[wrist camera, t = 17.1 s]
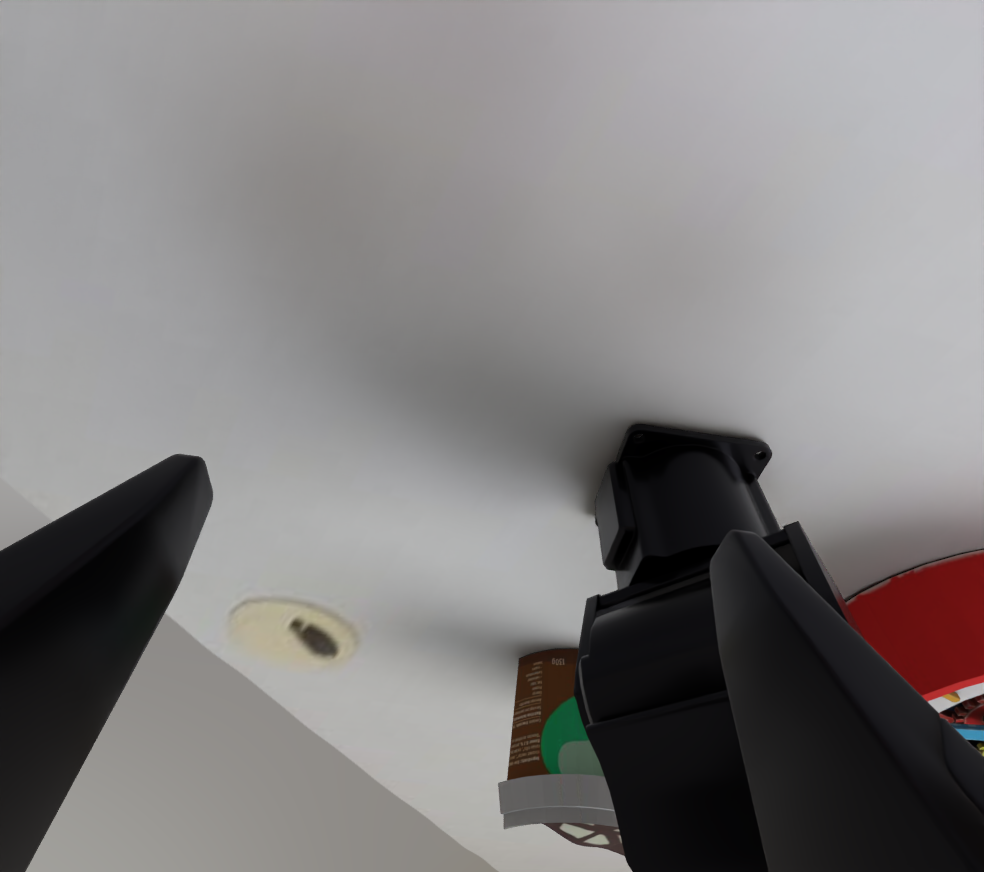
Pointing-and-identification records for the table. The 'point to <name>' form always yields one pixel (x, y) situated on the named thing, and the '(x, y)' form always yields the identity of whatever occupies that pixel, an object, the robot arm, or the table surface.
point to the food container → (555, 758)
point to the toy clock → (934, 635)
